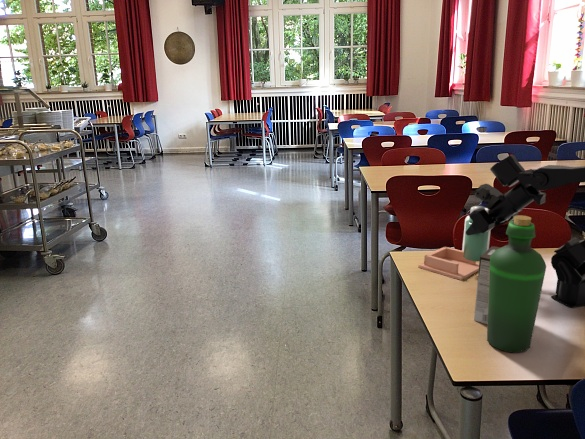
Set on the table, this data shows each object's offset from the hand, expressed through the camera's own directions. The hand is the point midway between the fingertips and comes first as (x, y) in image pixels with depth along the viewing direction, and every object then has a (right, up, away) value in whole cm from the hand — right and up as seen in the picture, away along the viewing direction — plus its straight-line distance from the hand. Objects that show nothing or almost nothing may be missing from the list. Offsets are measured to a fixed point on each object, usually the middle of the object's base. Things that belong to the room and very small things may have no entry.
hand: (472, 231), depth 140 cm
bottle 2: (-5, -23, -35) cm, 42 cm away
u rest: (-4, -11, +7) cm, 14 cm away
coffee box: (-4, -20, -23) cm, 31 cm away
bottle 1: (+1, -8, +1) cm, 8 cm away
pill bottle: (+8, -8, +19) cm, 22 cm away
